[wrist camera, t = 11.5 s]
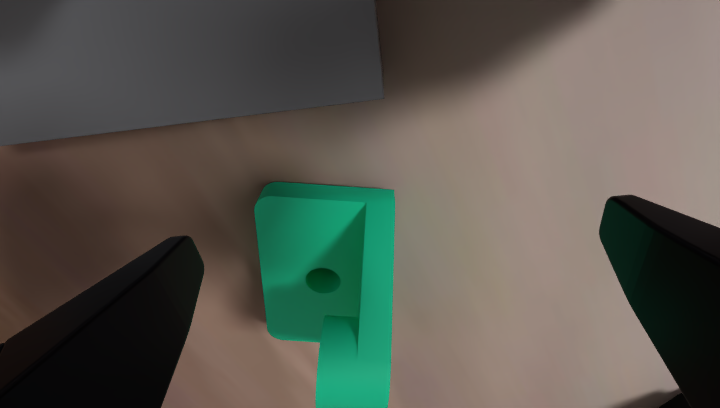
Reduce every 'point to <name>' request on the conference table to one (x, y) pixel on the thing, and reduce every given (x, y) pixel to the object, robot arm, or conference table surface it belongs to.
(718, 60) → the conference table surface
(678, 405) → the game console
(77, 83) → the mount block
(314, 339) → the camera mount
